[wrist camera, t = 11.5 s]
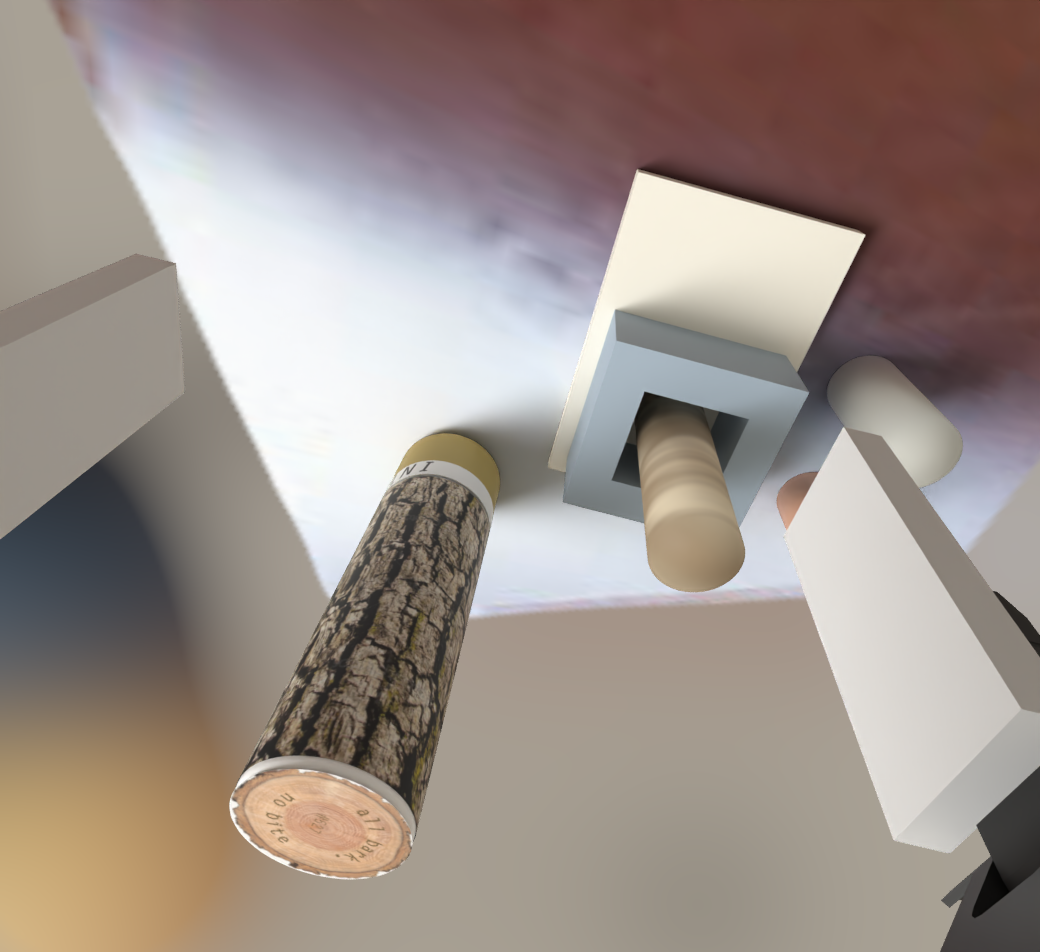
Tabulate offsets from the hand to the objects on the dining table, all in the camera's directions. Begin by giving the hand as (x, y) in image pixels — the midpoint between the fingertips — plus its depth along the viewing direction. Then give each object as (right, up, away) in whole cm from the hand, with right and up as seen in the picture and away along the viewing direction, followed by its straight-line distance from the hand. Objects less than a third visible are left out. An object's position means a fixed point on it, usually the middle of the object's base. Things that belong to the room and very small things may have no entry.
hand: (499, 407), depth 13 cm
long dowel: (+9, +3, +27) cm, 29 cm away
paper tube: (-4, -1, +32) cm, 33 cm away
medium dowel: (+21, +4, +26) cm, 33 cm away
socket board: (+10, +6, +26) cm, 29 cm away
